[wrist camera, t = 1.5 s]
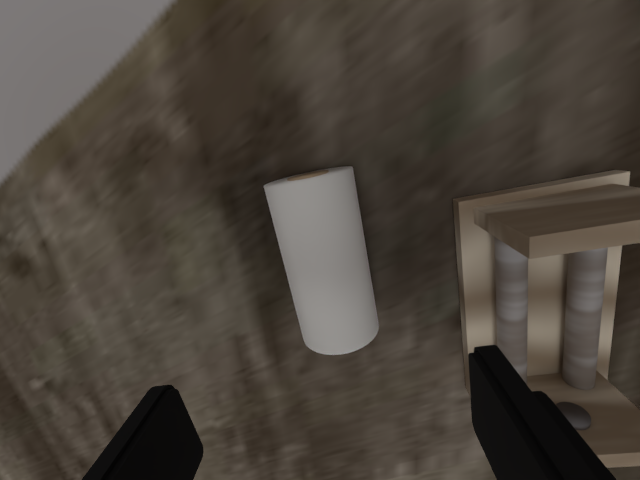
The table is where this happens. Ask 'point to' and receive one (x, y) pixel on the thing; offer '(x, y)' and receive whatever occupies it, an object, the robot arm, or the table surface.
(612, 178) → the roll cradle
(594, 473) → the robot arm
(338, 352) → the paper roll
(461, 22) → the table surface
